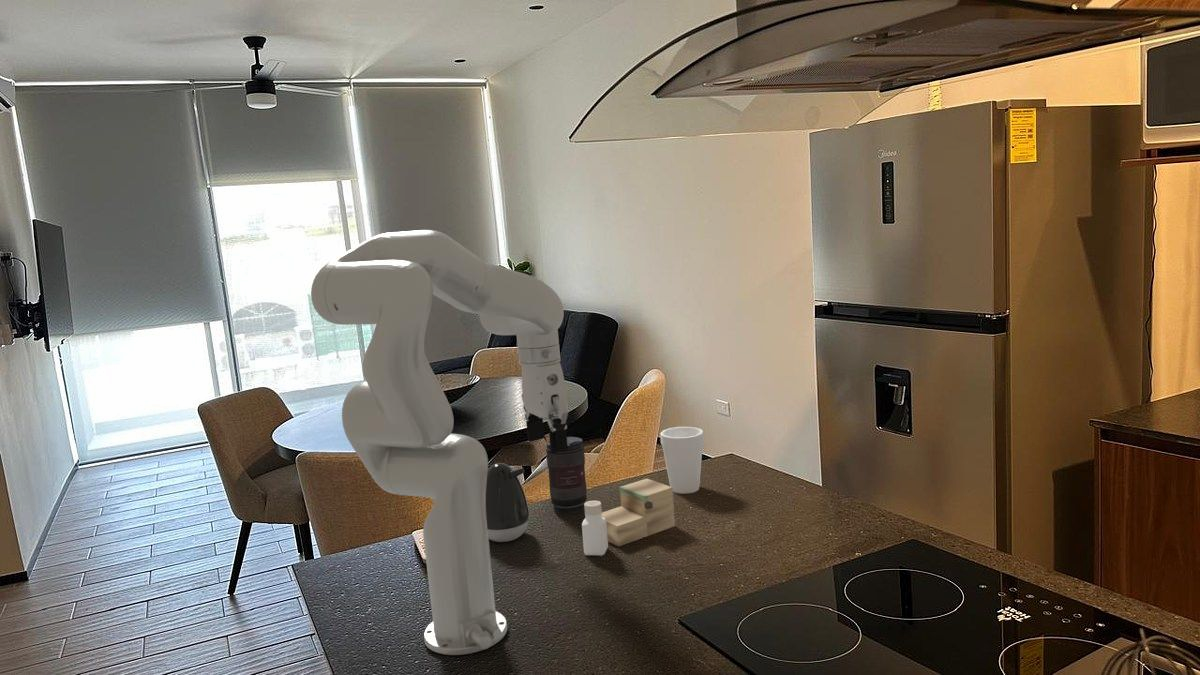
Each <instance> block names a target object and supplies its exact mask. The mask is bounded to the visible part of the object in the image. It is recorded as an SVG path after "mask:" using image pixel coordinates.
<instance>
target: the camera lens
mask: <svg viewBox="0 0 1200 675" xmlns="http://www.w3.org/2000/svg"><path fill="white" fill-rule="evenodd" d="M567 445H568V449H567V450H565V451H561V452H557V453H552V452H551V450H550V439H548V440H547V442H546V446H545V451H546V464H547V468H548V479H549V480H548V481H549V485H548V486H549V495H550V501H551V504H552V505H553V510H554V512H555V513H557V514H563V515H568V514H569V515H570V514H576V513H579V512H581V511H584V510H585V508H584V503H586V502H587V498H588V497H587V493H588V491H587V481H586V471H585V468H586V467H585V466H586V465H585V464H586V462H585V461H586V457H585V456H586V455H585V446H584V443H583V438H580V437H576V436H567Z"/></svg>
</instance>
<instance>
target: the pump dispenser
mask: <svg viewBox="0 0 1200 675" xmlns="http://www.w3.org/2000/svg"><path fill="white" fill-rule="evenodd" d="M524 473H525V468H523V467H520V468H517V469H513V468H512V467H511V466H510V465H509V464H506V463H504V462H498V463H493V464H492V465H490V467H488V473H487V483H486V519H487V530H488V539H489V540H491V541H493V542H498V543H509V542H512V541H515V540H516V539H518V538H519V537H521V536H522V535H523V534H524V533H525V532H526V529H527V527H528V523H529V521H530V518H531V517H530V510H529V504H528V501H527V500H528V499H527V498H526V497H527V496H526V494H525V491H524V488H523V485H522V483H521V482H520V479H519V476H521V475H522V474H524Z"/></svg>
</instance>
